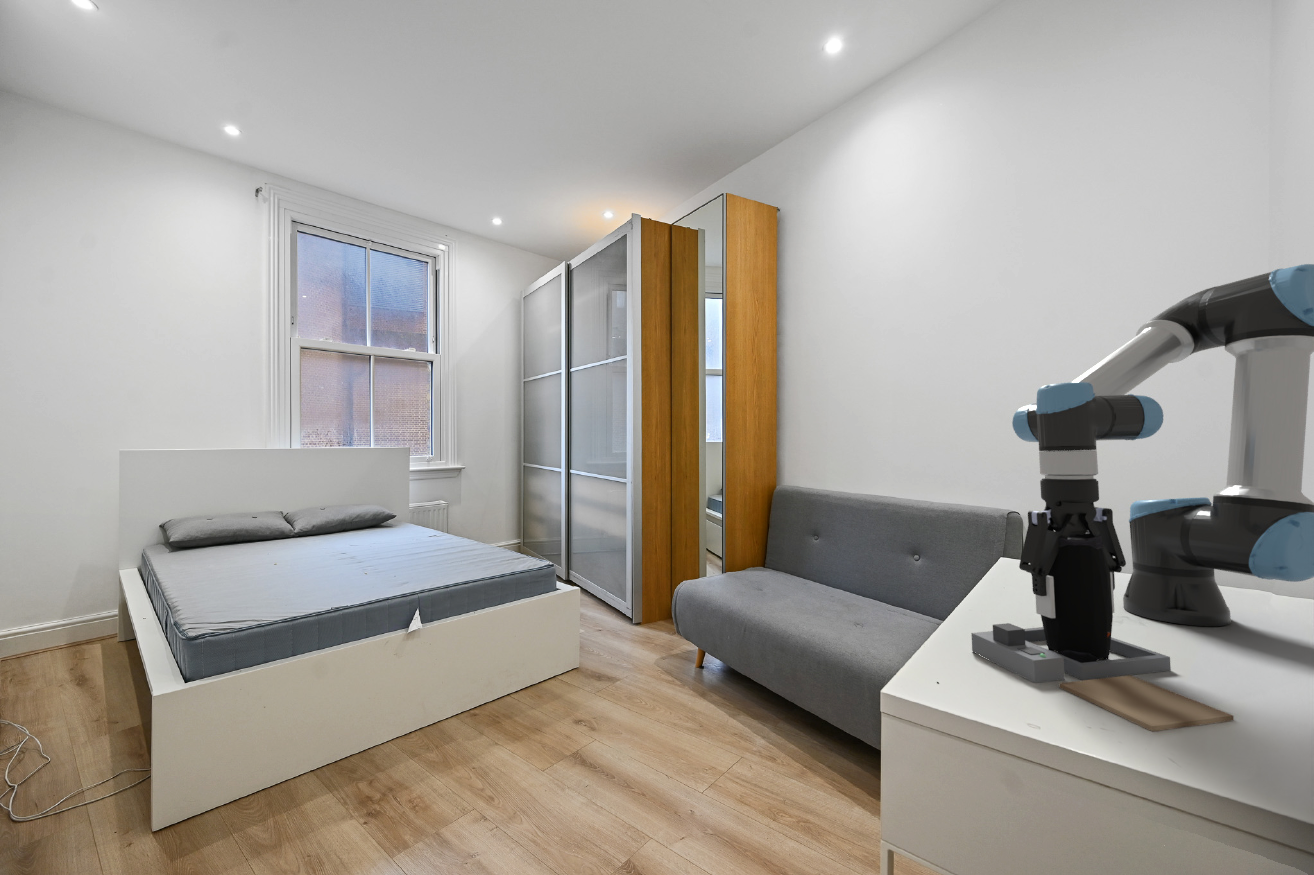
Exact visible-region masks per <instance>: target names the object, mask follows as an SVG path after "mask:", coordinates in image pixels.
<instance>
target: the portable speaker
mask: <svg viewBox="0 0 1314 875" xmlns="http://www.w3.org/2000/svg"><path fill="white" fill-rule="evenodd" d="M1041 567H1042V566H1040V568H1041ZM1048 576H1052V577H1053V580H1054V600H1055V618H1049V617H1046V616H1043V615H1040V618H1041V622H1042V627H1043V628H1044V633H1045V638H1046V641H1045V643H1046V646H1047V649H1048V650H1050V651H1053V652H1055V653H1058V654H1060V655H1063V656H1065V657H1068V658H1070V659H1072V660H1075V661H1077V662H1080V663H1086V662H1096V661H1099V660H1100V659H1102V660H1103V661H1105V660H1109V656H1110V654H1111V651H1110V644H1111V637H1112V632H1113V618H1114V616H1113V614H1114V613H1113V611H1112V594H1111V578H1110V571H1109V567H1108V564H1107V560H1106V556H1105V553H1104V549H1103V541H1102V537H1100V536H1095V537H1094V538H1085V537H1080V536H1077V535H1076V534H1074V535H1069V537H1068V539H1065V538H1059V552H1058V554H1057V556H1056V558H1055V561H1054V563H1053V565H1052V567H1051V569H1050V572H1049V574H1048Z"/></svg>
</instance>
